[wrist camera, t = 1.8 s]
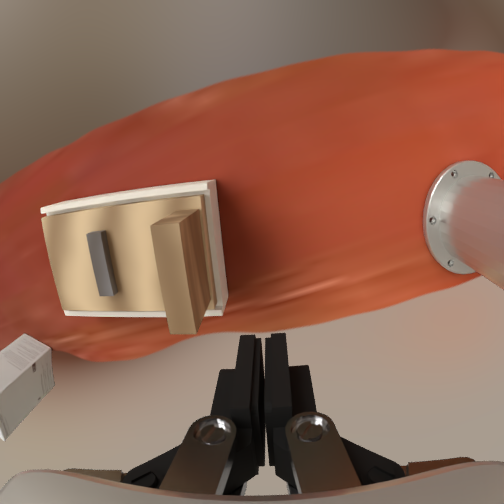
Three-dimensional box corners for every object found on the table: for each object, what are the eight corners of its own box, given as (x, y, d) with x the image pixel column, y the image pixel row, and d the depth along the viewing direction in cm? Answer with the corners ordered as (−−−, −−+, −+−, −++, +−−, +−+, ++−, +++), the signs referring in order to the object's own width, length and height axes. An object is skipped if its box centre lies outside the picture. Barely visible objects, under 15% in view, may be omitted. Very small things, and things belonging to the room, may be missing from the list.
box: (215, 179, 30) (206, 182, 26) (228, 296, 33) (222, 315, 29) (63, 201, 31) (40, 208, 27) (84, 299, 35) (65, 315, 30)
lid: (204, 194, 27) (179, 206, 20) (217, 301, 30) (201, 345, 22) (50, 215, 28) (2, 232, 21) (70, 303, 31) (31, 336, 24)
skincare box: (56, 385, 40) (8, 445, 25) (28, 369, 39) (-22, 423, 25) (51, 344, 37) (-9, 405, 23) (22, 329, 37) (-39, 381, 23)
